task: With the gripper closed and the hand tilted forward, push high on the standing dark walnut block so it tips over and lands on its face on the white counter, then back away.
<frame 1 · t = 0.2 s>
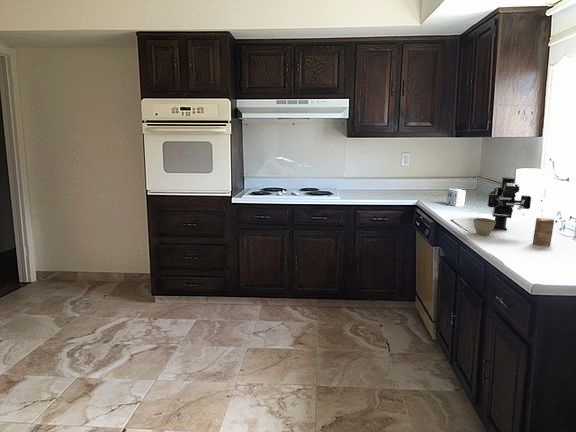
hand: (511, 204, 222), 16 cm above the counter, tool horizontal, fingers open, 9 cm apart
light bulb box: (455, 205, 320), on the counter
walnut block: (541, 244, 217), on the counter
flower pot: (482, 234, 233), on the counter
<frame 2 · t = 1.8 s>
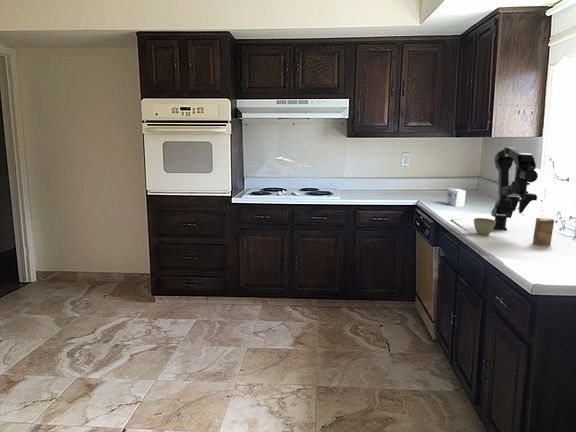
hand: (516, 212, 229), 12 cm above the counter, tool pointing down, fingers open, 5 cm apart
nothing on the counter moved.
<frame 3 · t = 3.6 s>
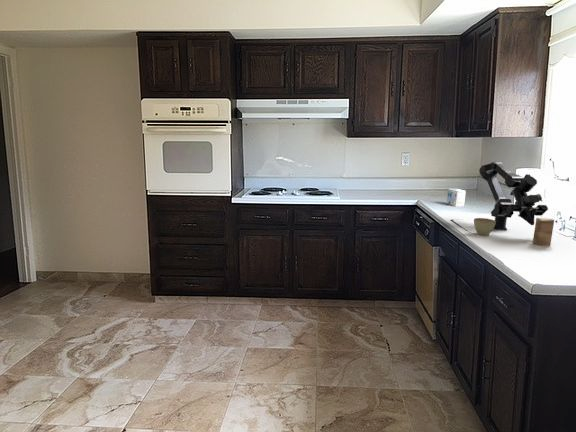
hand: (532, 224, 223), 7 cm above the counter, tool tilted 45°, fingers closed
nothing on the counter moved.
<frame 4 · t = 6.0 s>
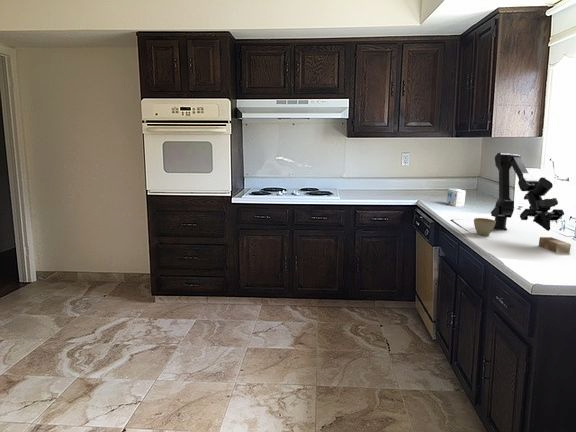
hand: (548, 230, 212), 7 cm above the counter, tool tilted 45°, fingers closed
walnut block: (545, 241, 214), point 2 cm above the counter, tilted 90°
everything else where it was.
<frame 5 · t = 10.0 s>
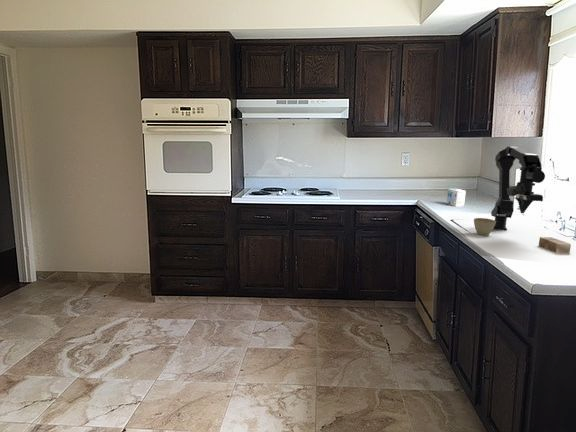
hand: (522, 213, 226), 12 cm above the counter, tool pointing down, fingers closed
nothing on the counter moved.
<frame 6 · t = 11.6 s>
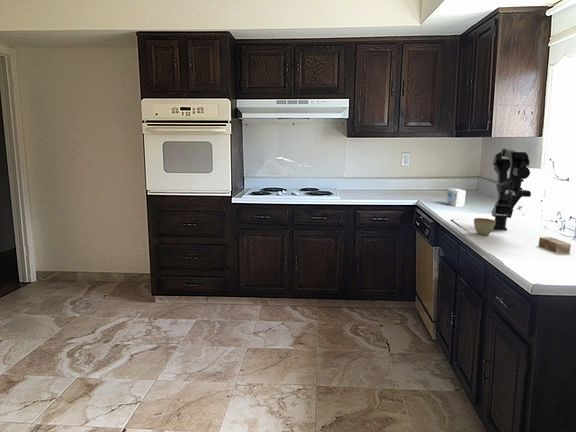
hand: (511, 208, 233), 13 cm above the counter, tool pointing down, fingers closed
nothing on the counter moved.
at the end: walnut block tilted 90°; walnut block inside the target area (6.1 cm from its centre), point 1.9 cm above the counter; the gripper is holding nothing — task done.
